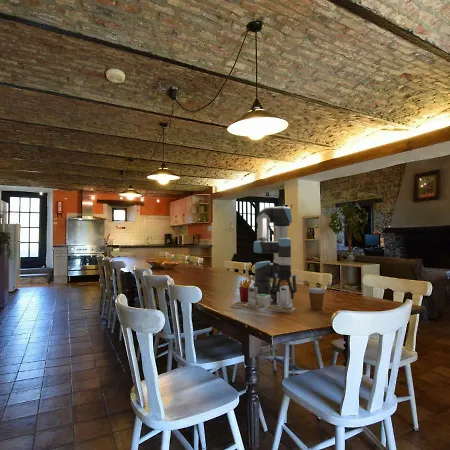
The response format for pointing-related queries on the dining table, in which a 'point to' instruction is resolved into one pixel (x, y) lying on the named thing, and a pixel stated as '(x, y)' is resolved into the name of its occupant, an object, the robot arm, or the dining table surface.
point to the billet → (284, 295)
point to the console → (264, 300)
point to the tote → (285, 306)
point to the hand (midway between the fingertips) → (284, 303)
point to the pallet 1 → (249, 300)
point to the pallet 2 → (279, 308)
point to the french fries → (244, 290)
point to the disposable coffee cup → (316, 297)
